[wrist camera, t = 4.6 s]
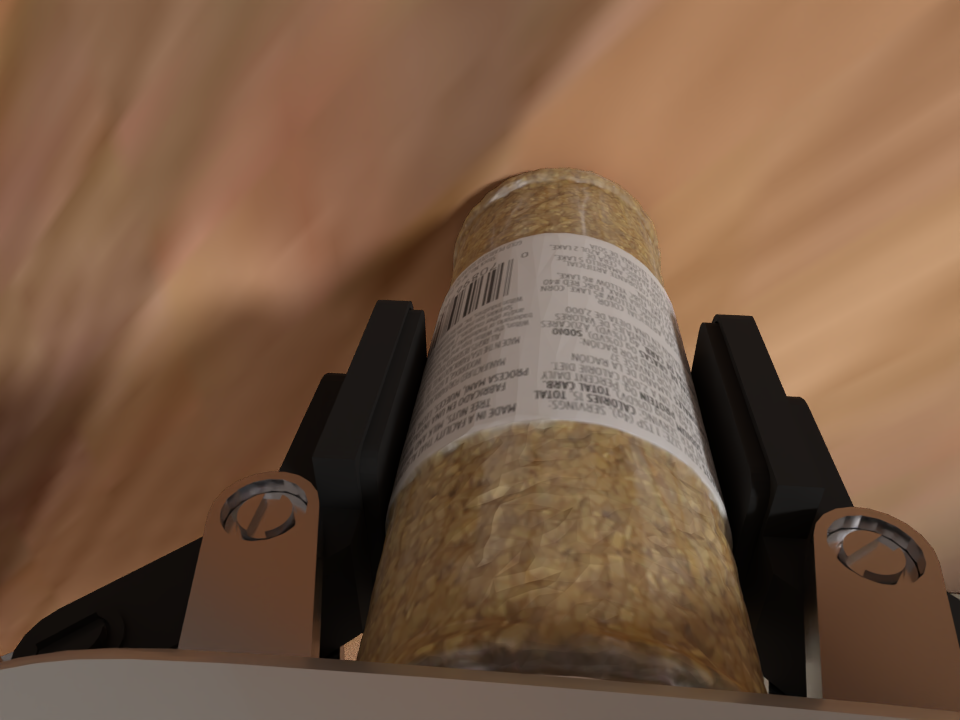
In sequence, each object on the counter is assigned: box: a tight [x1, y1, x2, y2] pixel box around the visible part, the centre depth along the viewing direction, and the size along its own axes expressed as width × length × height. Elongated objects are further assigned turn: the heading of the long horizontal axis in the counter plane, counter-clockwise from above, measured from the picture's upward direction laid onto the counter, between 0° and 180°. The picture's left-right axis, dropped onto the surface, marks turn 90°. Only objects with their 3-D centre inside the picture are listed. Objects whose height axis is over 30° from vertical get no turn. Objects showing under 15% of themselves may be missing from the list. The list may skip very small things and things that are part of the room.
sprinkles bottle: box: [356, 168, 768, 694], centre depth 11 cm, size 5×5×13 cm
